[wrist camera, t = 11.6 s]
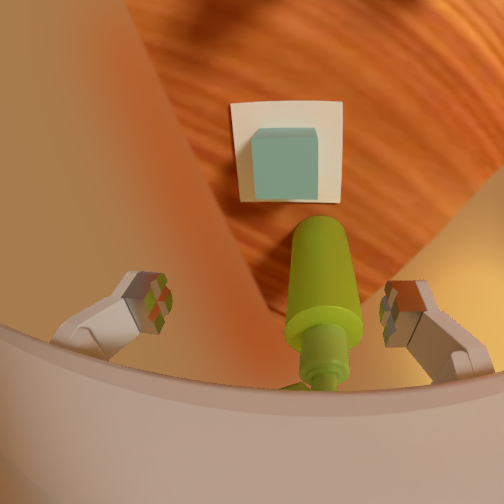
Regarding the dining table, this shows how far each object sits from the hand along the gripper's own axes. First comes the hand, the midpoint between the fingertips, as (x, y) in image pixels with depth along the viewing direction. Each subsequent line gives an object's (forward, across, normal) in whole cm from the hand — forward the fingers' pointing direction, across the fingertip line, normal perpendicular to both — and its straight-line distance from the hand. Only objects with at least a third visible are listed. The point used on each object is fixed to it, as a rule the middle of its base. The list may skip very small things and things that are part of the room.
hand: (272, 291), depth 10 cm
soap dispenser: (+19, -3, +9) cm, 22 cm away
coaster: (+19, 0, 0) cm, 19 cm away
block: (+19, 0, 0) cm, 19 cm away
